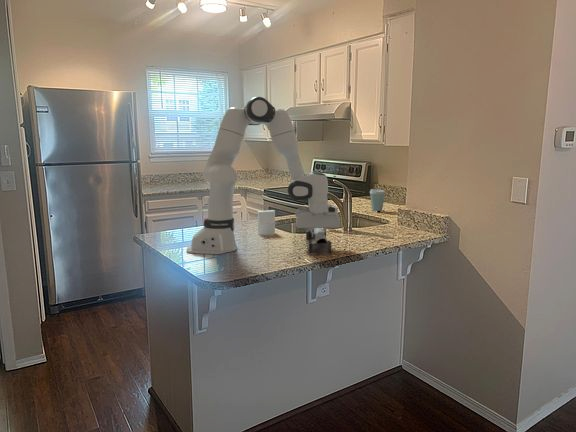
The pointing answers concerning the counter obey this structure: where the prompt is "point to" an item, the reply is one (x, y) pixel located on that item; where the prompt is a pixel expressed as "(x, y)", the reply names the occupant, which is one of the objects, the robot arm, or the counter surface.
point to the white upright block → (266, 222)
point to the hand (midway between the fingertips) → (317, 237)
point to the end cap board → (317, 245)
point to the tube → (320, 236)
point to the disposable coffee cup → (377, 199)
